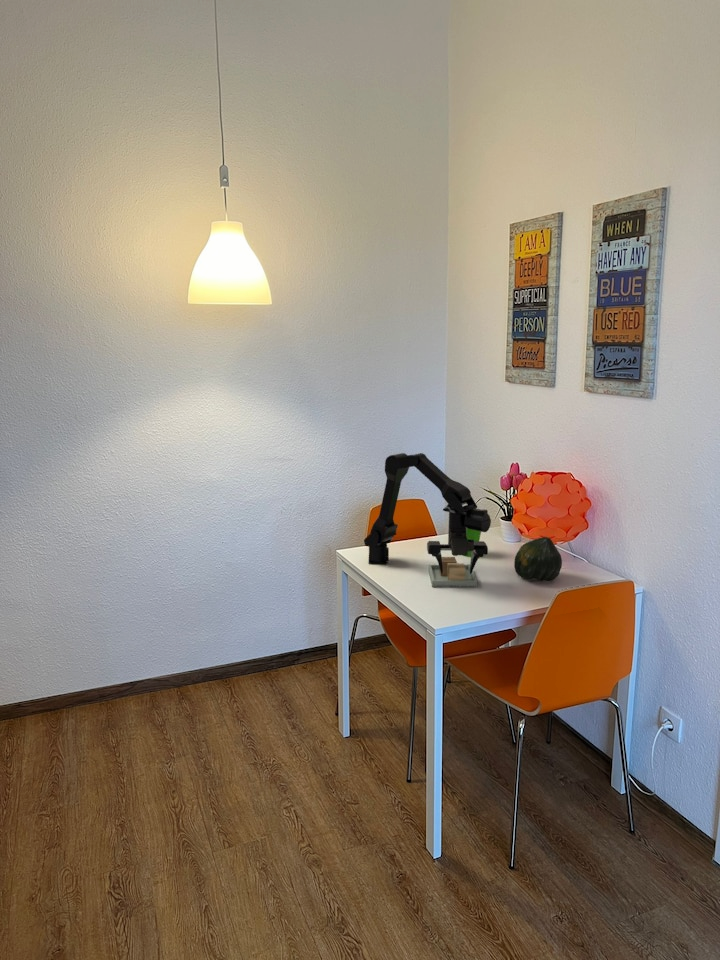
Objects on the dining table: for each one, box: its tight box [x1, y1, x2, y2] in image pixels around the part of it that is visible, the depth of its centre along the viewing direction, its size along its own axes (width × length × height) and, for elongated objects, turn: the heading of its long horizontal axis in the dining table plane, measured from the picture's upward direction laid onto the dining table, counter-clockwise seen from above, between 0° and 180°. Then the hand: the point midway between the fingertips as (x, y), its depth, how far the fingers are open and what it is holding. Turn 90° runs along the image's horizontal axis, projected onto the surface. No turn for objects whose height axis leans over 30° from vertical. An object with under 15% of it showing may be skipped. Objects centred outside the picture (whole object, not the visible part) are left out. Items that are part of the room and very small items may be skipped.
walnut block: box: [439, 556, 458, 576], centre depth 229 cm, size 5×5×5 cm
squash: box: [513, 536, 563, 582], centre depth 225 cm, size 14×15×15 cm
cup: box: [465, 528, 482, 558], centre depth 250 cm, size 9×9×11 cm
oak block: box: [447, 562, 465, 580], centre depth 222 cm, size 5×5×5 cm
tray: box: [427, 564, 478, 588], centre depth 226 cm, size 14×16×2 cm
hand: (456, 573), depth 223 cm, fingers open, 9 cm apart
